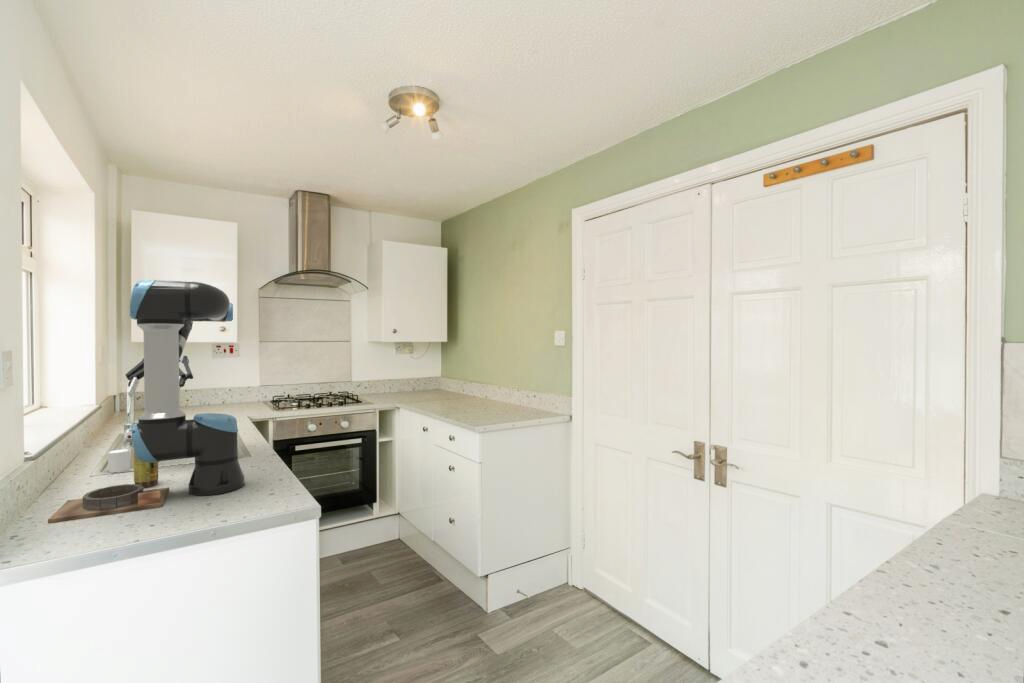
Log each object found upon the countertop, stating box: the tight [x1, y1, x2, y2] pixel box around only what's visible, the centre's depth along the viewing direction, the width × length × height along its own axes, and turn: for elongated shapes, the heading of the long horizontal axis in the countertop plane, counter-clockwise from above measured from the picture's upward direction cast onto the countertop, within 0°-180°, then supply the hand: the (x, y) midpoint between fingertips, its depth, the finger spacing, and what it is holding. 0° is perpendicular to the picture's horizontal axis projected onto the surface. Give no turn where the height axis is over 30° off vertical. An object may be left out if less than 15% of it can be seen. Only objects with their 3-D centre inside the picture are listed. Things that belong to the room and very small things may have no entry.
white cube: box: [106, 448, 132, 474], centre depth 173 cm, size 7×7×7 cm
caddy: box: [47, 483, 170, 524], centre depth 139 cm, size 24×16×4 cm, turn 119°
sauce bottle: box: [133, 451, 159, 488], centre depth 157 cm, size 6×6×20 cm
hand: (152, 394), depth 168 cm, fingers open, 13 cm apart
